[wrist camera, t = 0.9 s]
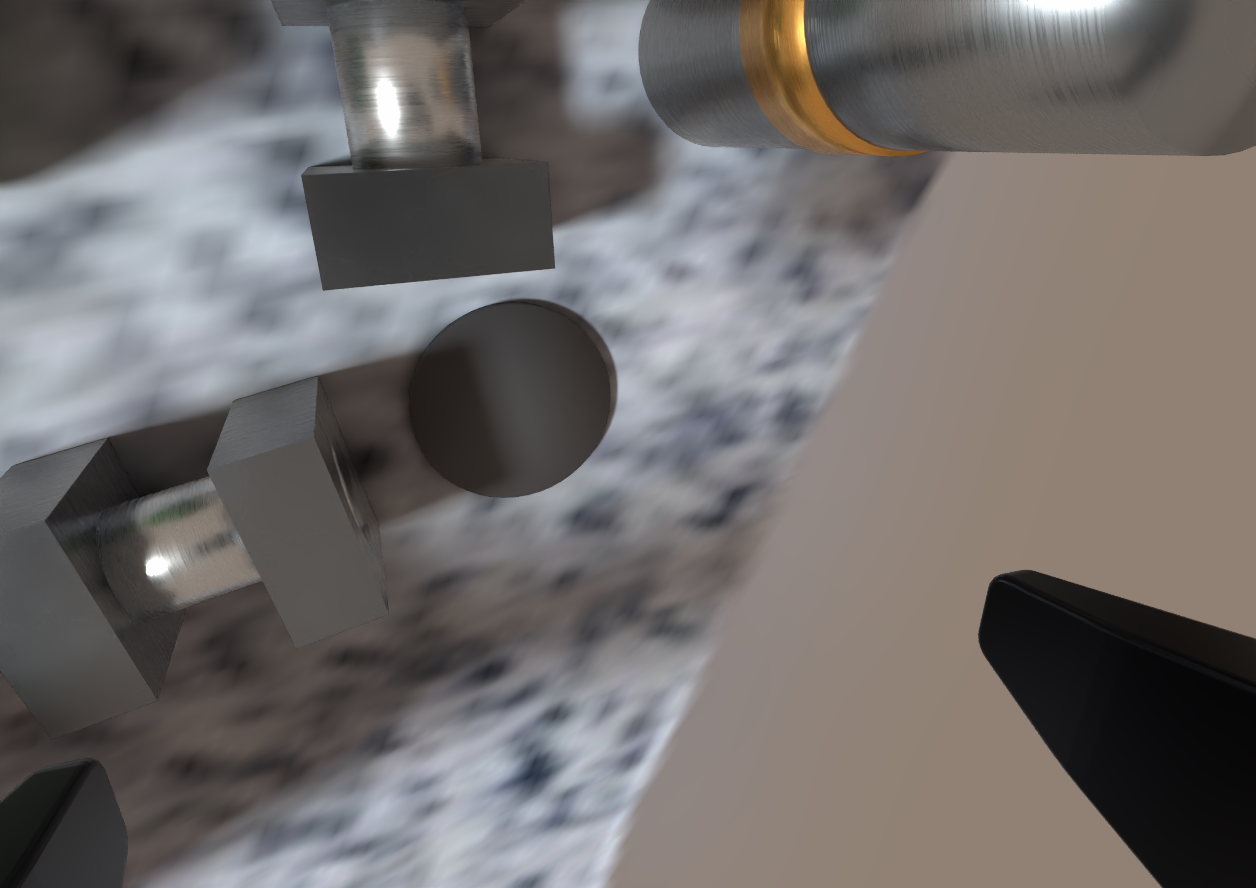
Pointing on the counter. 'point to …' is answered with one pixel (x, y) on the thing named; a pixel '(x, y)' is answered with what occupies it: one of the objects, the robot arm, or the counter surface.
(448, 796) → the counter surface
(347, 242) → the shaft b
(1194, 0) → the sleeve
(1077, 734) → the robot arm
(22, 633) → the grey metal block
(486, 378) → the pad
